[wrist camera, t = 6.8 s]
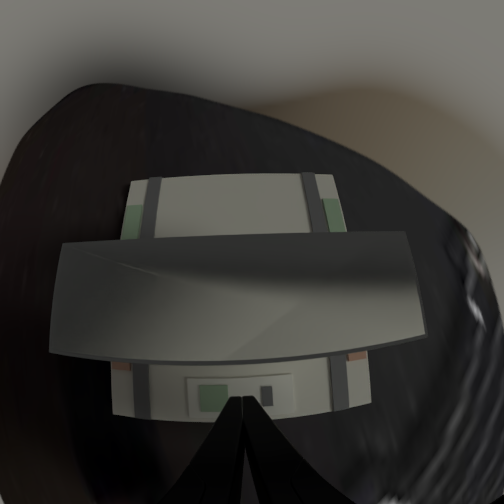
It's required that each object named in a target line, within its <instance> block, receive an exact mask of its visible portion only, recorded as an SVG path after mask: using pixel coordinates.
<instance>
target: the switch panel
mask: <svg viewBox="0 0 504 504" xmlns="http://www.w3.org/2000/svg"><path fill="white" fill-rule="evenodd" d="M310 232H347V230H346V225H345V221H344V217H343V213H342V209H341V205H340V201H339V197H338V193H337V189H336V186H335V182H334V179H333V175H322V174H314V173H310V172H302V174H226V175H204V176H187V177H173V178H162V177H153V178H149V180H139V181H131V186H130V190H129V195H128V200H127V205H126V210H125V215H124V220H123V226H122V232H121V238H120V240H125V239H144V238H164V237H186V236H211V235H238V234H270V233H310ZM111 388H112V407H113V414H115V415H122V416H129V417H135V418H140V419H149V420H151V419H155V420H168V421H185V422H215V421H216V419H217V417H218V416H219V414H220V412H221V411H222V409H223V407H224V406H225V404H226V402H227V400H228V399H229V397H231V396H241V397H242V396H250V395H252V396H254V397H255V398H256V399H257V401H258V402H259V403H260V405H261V406H262V407H263V409H264V410H265V411H266V413H267V414H268V415H269V416H270V418H271V419H281V418H290V417H298V416H305V415H312V414H318V413H324V412H330V411H339V410H344V409H348V408H350V407H355V406H359V405H363V404H368V403H371V392H370V378H369V366H368V356H367V351H363V352H357V353H351V354H345V355H338V356H331V357H324V358H316V359H308V360H298V361H288V362H277V363H264V364H247V365H219V366H180V365H152V364H136V363H123V362H112V361H111ZM242 411H243V409H242Z"/></svg>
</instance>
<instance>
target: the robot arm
mask: <svg viewBox="0 0 504 504" xmlns="http://www.w3.org/2000/svg"><path fill="white" fill-rule="evenodd" d="M242 409H243V411H242ZM243 424H244V426H243ZM244 438H245V440H244ZM245 448H246V453H247V457H248V461H249V465H250V469H251V473H252V477H253V481H254V485H255V489H256V492H257V496H258V500H259V503H260V504H355V503H354V502H353V501H351V500H350V499H349V498H347V497H346V496H345V495H343V494H342V493H341V492H339V491H338V490H337V489H335V488H334V487H333V486H332V485H330V484H329V483H328V482H327V481H326V480H325V479H323V478H322V477H321V476H320V475H319V474H318V473H317V472H316V471H315V470H314V469H313V468H312V467H311V466H310V464H309V463H308V462H307V461H306V460H305V459H303V457H302V456H301V454H300V453H299V452H298V451H297V450H296V449H295V447H294V446H293V445H292V444H291V443H290V441H289V440H288V439H287V438H286V436H285V435H284V434H283V433H282V432H281V430H280V429H279V428H278V427H277V425H276V424H275V423H274V422H273V420H272V419H271V418H270V416H269V415H268V414H267V413H266V411H265V410H264V409H263V407H262V406H261V405H260V403H259V402H258V401H257V399H256V398H255V397H254V396H252V395H250V396H242V397H241V396H231V397H229V399H228V400H227V402H226V404H225V406H224V407H223V409H222V411H221V412H220V414H219V416H218V417H217V419H216V421H215V423H214V424H213V426H212V428H211V429H210V431H209V433H208V434H207V436H206V438H205V439H204V441H203V442H202V444H201V446H200V447H199V449H198V451H197V452H196V454H195V455H194V457H193V459H192V460H191V462H190V465H188V466H187V467H186V469H185V471H184V472H183V474H182V475H181V476H180V478H179V479H178V481H177V482H176V483H175V485H174V486H173V487H172V488H171V489H170V490H169V492H168V493H167V494H166V495H165V496H164V497H163V498H162V499H161V500H160V501H159V502H158V503H157V504H240V499H241V488H242V476H243V465H244V453H245ZM490 504H504V495H502V496H501V497H499V498H498V499H496V500H495V501H493V502H492V503H490Z"/></svg>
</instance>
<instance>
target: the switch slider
mask: <svg viewBox="0 0 504 504" xmlns="http://www.w3.org/2000/svg"><path fill="white" fill-rule="evenodd" d="M426 337H428V333H427V326H426V320H425V314H424V308H423V303H422V298H421V293H420V288H419V283H418V279H417V274H416V270H415V266H414V262H413V258H412V254H411V251H410V247H409V243H408V240H407V237H406V233H405V231H372V232H310V233H270V234H238V235H211V236H186V237H164V238H144V239H125V240H107V241H90V242H75V243H63V244H62V249H61V253H60V258H59V264H58V269H57V275H56V282H55V288H54V296H53V304H52V313H51V325H50V341H49V352H50V353H55V354H60V355H66V356H72V357H79V358H86V359H94V360H103V361H112V362H123V363H136V364H152V365H180V366H219V365H247V364H264V363H277V362H288V361H298V360H308V359H316V358H324V357H331V356H338V355H345V354H351V353H357V352H363V351H368V350H373V349H379V348H384V347H389V346H393V345H398V344H402V343H407V342H411V341H415V340H419V339H422V338H426Z"/></svg>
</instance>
